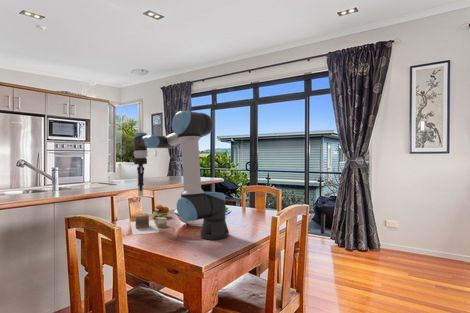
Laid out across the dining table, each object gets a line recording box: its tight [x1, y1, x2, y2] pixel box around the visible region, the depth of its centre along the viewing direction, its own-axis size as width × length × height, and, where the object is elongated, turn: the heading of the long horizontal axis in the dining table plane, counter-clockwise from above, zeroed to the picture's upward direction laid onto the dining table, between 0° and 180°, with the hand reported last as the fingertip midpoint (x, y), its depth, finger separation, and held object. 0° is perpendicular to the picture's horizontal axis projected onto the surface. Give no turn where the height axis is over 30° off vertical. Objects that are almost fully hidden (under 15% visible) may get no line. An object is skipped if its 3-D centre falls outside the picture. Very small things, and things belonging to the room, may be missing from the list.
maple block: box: [154, 217, 168, 229], centre depth 178 cm, size 5×5×5 cm
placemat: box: [129, 219, 160, 236], centre depth 176 cm, size 32×14×1 cm, turn 22°
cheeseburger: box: [151, 204, 170, 220], centre depth 202 cm, size 10×11×10 cm
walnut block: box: [135, 213, 150, 229], centre depth 176 cm, size 7×7×7 cm
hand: (140, 195), depth 184 cm, fingers closed
